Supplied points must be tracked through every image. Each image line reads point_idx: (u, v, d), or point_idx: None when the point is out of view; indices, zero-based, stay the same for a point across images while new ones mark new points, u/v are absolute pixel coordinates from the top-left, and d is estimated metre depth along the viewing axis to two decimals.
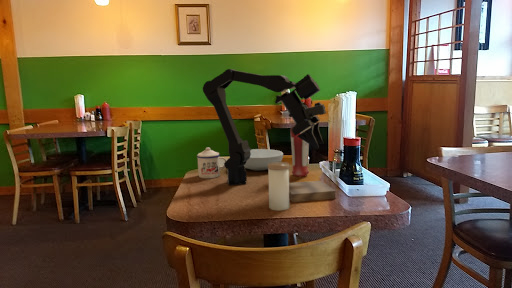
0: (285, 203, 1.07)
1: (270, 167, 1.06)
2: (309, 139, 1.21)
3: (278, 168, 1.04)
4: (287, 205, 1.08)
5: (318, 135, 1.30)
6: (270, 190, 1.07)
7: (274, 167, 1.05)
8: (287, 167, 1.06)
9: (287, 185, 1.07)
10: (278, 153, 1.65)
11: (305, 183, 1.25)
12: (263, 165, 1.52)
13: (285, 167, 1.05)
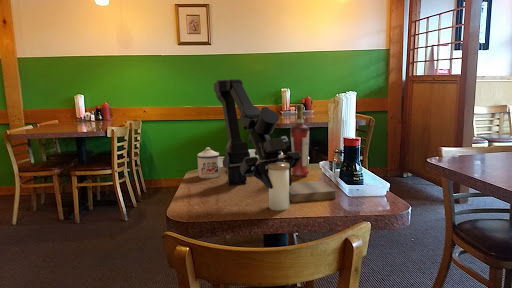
0: (285, 203, 1.07)
1: (270, 167, 1.06)
2: (262, 178, 1.08)
3: (278, 168, 1.04)
4: (287, 205, 1.08)
5: None
6: (270, 190, 1.07)
7: (274, 167, 1.05)
8: (287, 167, 1.06)
9: (287, 185, 1.07)
10: None
11: (305, 183, 1.25)
12: None
13: (285, 167, 1.05)
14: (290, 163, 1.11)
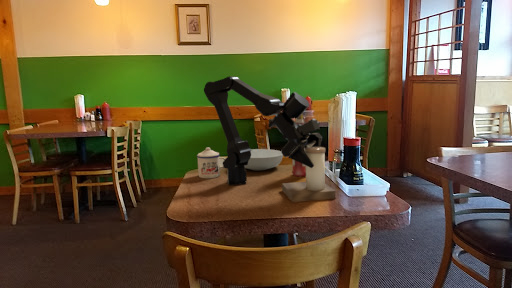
0: (324, 183, 1.18)
1: (312, 151, 1.14)
2: (302, 159, 1.14)
3: (320, 151, 1.14)
4: (324, 185, 1.19)
5: None
6: (311, 173, 1.16)
7: (317, 151, 1.14)
8: None
9: (324, 167, 1.18)
10: (278, 153, 1.65)
11: (305, 183, 1.25)
12: (263, 165, 1.52)
13: (324, 150, 1.16)
14: (320, 142, 1.23)
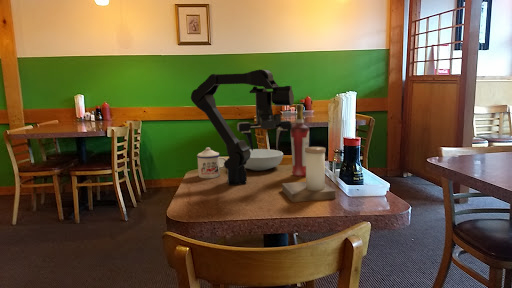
0: (324, 183, 1.18)
1: (313, 151, 1.14)
2: (248, 139, 1.31)
3: (320, 151, 1.14)
4: (324, 185, 1.19)
5: (277, 140, 1.32)
6: (311, 173, 1.16)
7: (317, 151, 1.14)
8: (325, 150, 1.17)
9: (324, 167, 1.18)
10: (278, 153, 1.65)
11: (305, 183, 1.25)
12: (263, 165, 1.52)
13: (325, 150, 1.16)
14: (283, 133, 1.30)
